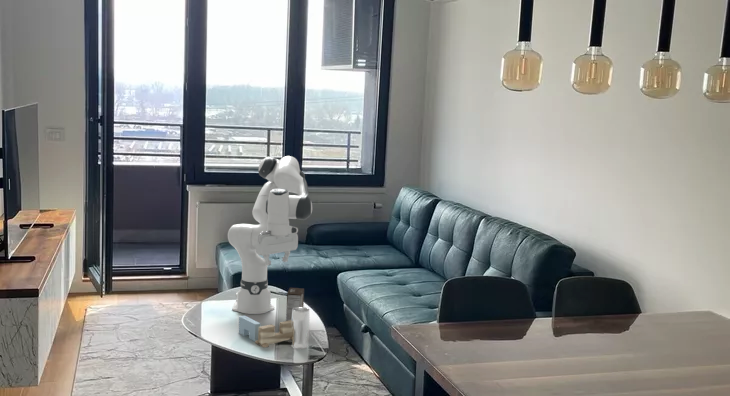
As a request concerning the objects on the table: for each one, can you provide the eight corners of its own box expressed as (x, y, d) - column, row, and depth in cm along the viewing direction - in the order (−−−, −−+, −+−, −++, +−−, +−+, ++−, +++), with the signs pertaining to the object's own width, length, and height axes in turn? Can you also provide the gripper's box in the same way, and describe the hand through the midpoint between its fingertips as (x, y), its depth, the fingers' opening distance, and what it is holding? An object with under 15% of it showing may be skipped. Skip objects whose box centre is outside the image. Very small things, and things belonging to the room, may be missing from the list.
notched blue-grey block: (238, 333, 280) (239, 316, 279) (243, 332, 281) (244, 315, 281) (254, 341, 271) (255, 324, 270) (260, 340, 273) (260, 323, 272)
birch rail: (255, 343, 269) (255, 325, 268) (288, 335, 280) (289, 318, 279) (264, 347, 265) (264, 330, 264) (297, 339, 276) (298, 322, 275)
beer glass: (305, 351, 263) (307, 312, 262) (287, 348, 265) (289, 310, 263) (310, 345, 270) (312, 307, 268) (293, 343, 272) (294, 306, 270)
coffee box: (288, 324, 295) (289, 287, 292) (303, 324, 294) (304, 288, 292) (285, 330, 286) (286, 292, 283) (300, 331, 285) (302, 293, 283)
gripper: (264, 233, 266) (263, 268, 268) (301, 228, 282) (299, 261, 284) (253, 231, 270) (251, 265, 272) (290, 225, 286) (288, 258, 288)
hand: (276, 263), depth 278 cm, fingers open, 8 cm apart
